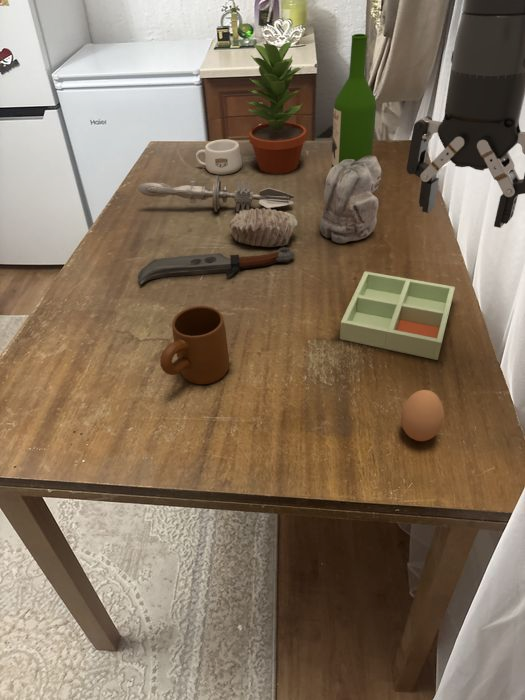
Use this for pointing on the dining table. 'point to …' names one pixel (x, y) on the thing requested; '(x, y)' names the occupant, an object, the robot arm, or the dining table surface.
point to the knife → (209, 264)
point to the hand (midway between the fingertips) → (462, 217)
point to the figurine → (351, 200)
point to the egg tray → (398, 314)
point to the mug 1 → (197, 346)
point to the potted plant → (276, 113)
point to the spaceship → (219, 194)
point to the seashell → (263, 227)
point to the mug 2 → (221, 157)
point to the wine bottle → (354, 110)
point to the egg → (422, 415)
